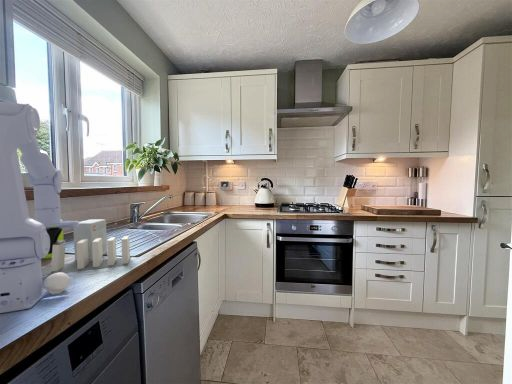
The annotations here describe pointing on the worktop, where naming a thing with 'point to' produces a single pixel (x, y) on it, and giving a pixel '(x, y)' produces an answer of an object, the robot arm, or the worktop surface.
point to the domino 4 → (111, 250)
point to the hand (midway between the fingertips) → (49, 252)
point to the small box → (91, 234)
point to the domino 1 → (58, 255)
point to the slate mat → (73, 268)
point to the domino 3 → (97, 252)
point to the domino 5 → (125, 250)
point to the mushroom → (57, 283)
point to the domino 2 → (82, 253)
